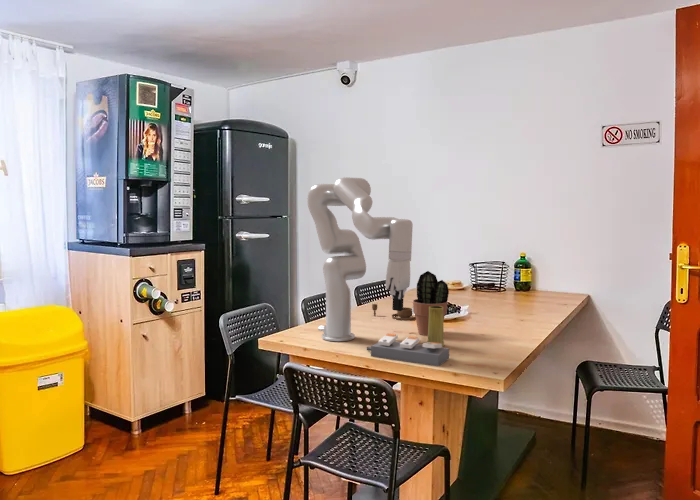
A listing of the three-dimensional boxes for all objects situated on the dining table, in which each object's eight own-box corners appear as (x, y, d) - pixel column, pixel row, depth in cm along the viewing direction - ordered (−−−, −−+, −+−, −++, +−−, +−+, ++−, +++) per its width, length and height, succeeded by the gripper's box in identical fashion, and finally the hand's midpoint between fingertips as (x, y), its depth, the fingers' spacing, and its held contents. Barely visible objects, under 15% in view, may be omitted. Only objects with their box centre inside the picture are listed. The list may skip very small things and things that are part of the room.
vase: (442, 343, 199) (442, 305, 198) (445, 347, 193) (446, 308, 192) (425, 343, 199) (426, 305, 198) (428, 348, 193) (429, 308, 192)
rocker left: (378, 344, 182) (378, 340, 182) (387, 336, 188) (387, 333, 188) (389, 345, 180) (388, 342, 180) (397, 338, 186) (397, 334, 186)
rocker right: (422, 346, 174) (422, 342, 174) (430, 345, 180) (430, 341, 180) (434, 348, 172) (434, 344, 172) (441, 347, 178) (441, 343, 178)
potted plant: (420, 338, 207) (421, 273, 205) (407, 331, 220) (407, 270, 218) (453, 336, 210) (453, 272, 208) (438, 329, 223) (438, 268, 222)
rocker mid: (400, 347, 178) (399, 343, 178) (408, 339, 184) (408, 335, 184) (411, 348, 176) (410, 344, 176) (419, 341, 182) (419, 337, 182)
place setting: (400, 324, 236) (400, 310, 235) (369, 317, 251) (369, 304, 251) (427, 318, 247) (427, 306, 247) (396, 312, 262) (396, 300, 262)
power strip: (360, 354, 184) (360, 343, 184) (373, 348, 193) (373, 337, 192) (438, 366, 170) (438, 353, 170) (449, 358, 179) (449, 346, 178)
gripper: (399, 253, 188) (397, 304, 190) (379, 257, 175) (377, 312, 177) (419, 255, 184) (416, 307, 187) (400, 259, 172) (398, 316, 174)
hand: (397, 310), depth 182 cm, fingers closed
